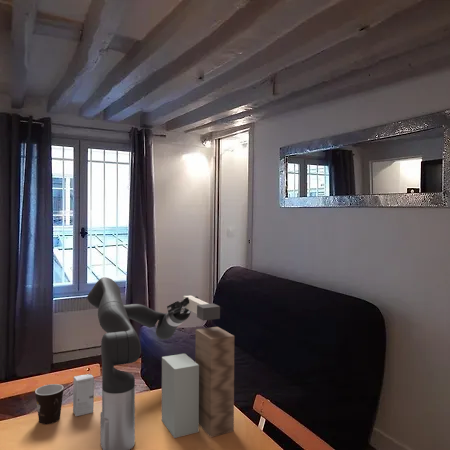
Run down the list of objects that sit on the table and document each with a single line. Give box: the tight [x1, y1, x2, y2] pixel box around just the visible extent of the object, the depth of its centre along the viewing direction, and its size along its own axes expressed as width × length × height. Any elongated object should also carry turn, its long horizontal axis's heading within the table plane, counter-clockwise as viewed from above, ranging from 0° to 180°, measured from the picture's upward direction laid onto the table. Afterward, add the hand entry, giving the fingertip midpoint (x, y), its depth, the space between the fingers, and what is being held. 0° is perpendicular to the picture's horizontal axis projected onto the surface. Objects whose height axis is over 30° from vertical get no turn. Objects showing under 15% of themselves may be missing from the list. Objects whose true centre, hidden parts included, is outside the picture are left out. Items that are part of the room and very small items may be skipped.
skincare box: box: [72, 373, 95, 417], centre depth 140 cm, size 6×4×12 cm
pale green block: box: [161, 353, 200, 439], centre depth 131 cm, size 8×12×21 cm, turn 27°
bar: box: [182, 295, 221, 322], centre depth 142 cm, size 6×21×4 cm, turn 27°
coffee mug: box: [34, 383, 64, 425], centre depth 133 cm, size 12×9×10 cm
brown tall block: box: [194, 326, 235, 438], centre depth 131 cm, size 8×12×30 cm, turn 27°
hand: (192, 299), depth 147 cm, fingers closed on bar, 3 cm apart
